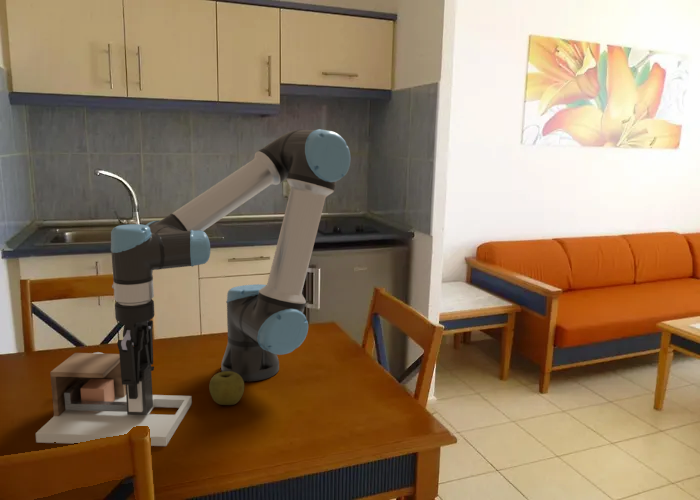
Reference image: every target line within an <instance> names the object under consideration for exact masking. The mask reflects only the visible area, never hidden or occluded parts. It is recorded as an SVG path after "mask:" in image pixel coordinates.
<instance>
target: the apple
mask: <svg viewBox="0 0 700 500" xmlns="http://www.w3.org/2000/svg"><path fill="white" fill-rule="evenodd" d="M244 392H245V381H243V379H242V377H241V376H240V375H239V374H237V373H235V372H232V371H224V372H222V371H221V372H217V373H215V374H214V375H213V376H212V377H211V379H210V381H209V393H210V397H211V398H212V400H213V401H214V403H216V404H218V405H221V406H222V405H223V406H233V405H236V404H237V403H238V402H240V400H241V399H242V397H243V395H244Z"/></svg>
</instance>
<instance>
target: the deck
mask: <svg viewBox="0 0 700 500" xmlns="http://www.w3.org/2000/svg"><path fill="white" fill-rule="evenodd" d="M152 395H153V407H152V408H151V410H150V411H149V412H148V414H147V415H127V412H117V411H75V410H65V411H64V412H63V413H62V414H61V415H60V416H54V415H53V417H51V418H50V420H48V421H47V422H46V423H45V424H44V425H43V426H41V428H40V429H38V430H37V432H35V443H37V444H38V443H43V444H44V443H45V444H72V445H73V444H74V443H80V442H86V441H90V440H95V439H100V438H106V437H113V436H119V435H124V434H127V433H128V432H129V431H130V430H131V429H132V428H133V427H136V426H148V427H149V429H150V438H151V446H150V447H153V446H154V447H167V446H168V444H169V443H170V441H171V438H172V437H173V435H174V434H175V433H176V430H177V429H178V427H179V426H180V424H181V422H182V421H183V420H184V418H185V417H186V415H187V413H188V411H189V409H190V408H191V407H192V404H193V401H192V399H193V398H192V395H169V394H168V395H166V394H165V395H164V394H152ZM113 402H127V401H126V395H125V397H115V400H114V401H113ZM154 408H169V409H170V408H176V409H178V410H177V411H176V412H175V414H159V413H158V414H155V413H151V412H152V411H153V410H154ZM54 442H56V443H54Z"/></svg>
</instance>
